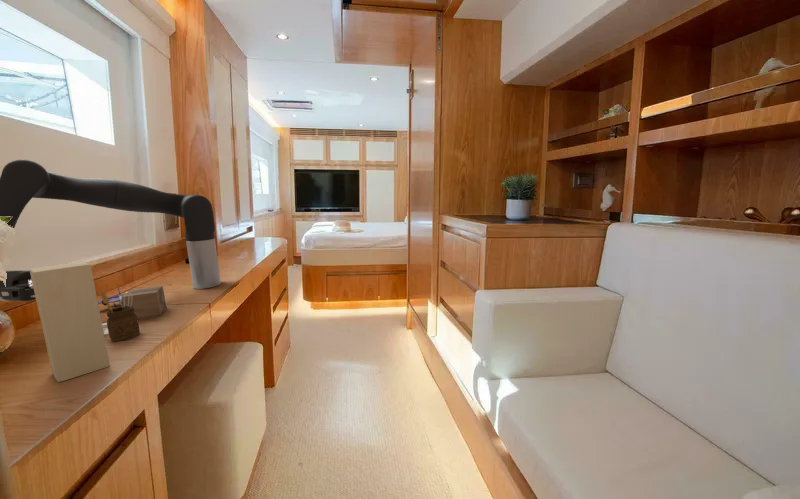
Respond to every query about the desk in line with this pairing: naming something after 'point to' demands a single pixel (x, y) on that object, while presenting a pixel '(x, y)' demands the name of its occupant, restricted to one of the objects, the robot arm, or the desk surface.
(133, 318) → the utensil holder
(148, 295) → the walnut base block
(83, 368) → the toy refrigerator
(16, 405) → the desk surface
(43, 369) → the desk surface
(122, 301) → the toy airplane
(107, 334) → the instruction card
